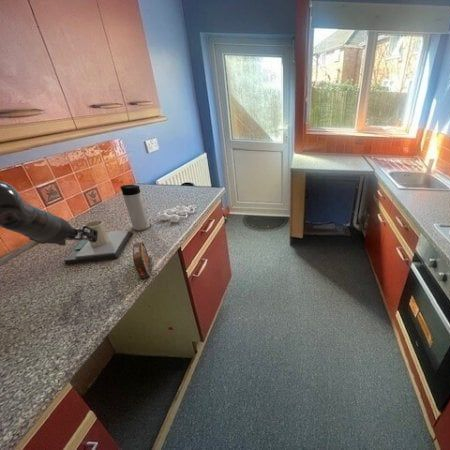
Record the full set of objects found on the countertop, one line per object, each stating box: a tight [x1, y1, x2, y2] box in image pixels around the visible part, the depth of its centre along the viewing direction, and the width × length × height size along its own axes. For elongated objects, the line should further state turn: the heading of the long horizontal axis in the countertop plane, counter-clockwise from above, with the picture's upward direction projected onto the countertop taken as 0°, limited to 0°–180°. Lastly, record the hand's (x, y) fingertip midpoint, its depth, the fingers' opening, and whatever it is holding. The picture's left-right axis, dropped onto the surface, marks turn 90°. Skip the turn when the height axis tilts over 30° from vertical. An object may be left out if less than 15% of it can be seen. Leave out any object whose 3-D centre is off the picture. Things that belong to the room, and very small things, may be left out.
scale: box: [63, 229, 133, 265], centre depth 93 cm, size 15×18×3 cm
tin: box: [132, 241, 151, 279], centre depth 83 cm, size 15×3×8 cm, turn 30°
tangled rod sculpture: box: [156, 204, 198, 223], centre depth 121 cm, size 19×14×4 cm
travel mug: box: [120, 184, 151, 232], centre depth 104 cm, size 6×7×20 cm
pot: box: [82, 219, 110, 247], centre depth 91 cm, size 6×6×8 cm
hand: (79, 240), depth 81 cm, fingers open, 8 cm apart
